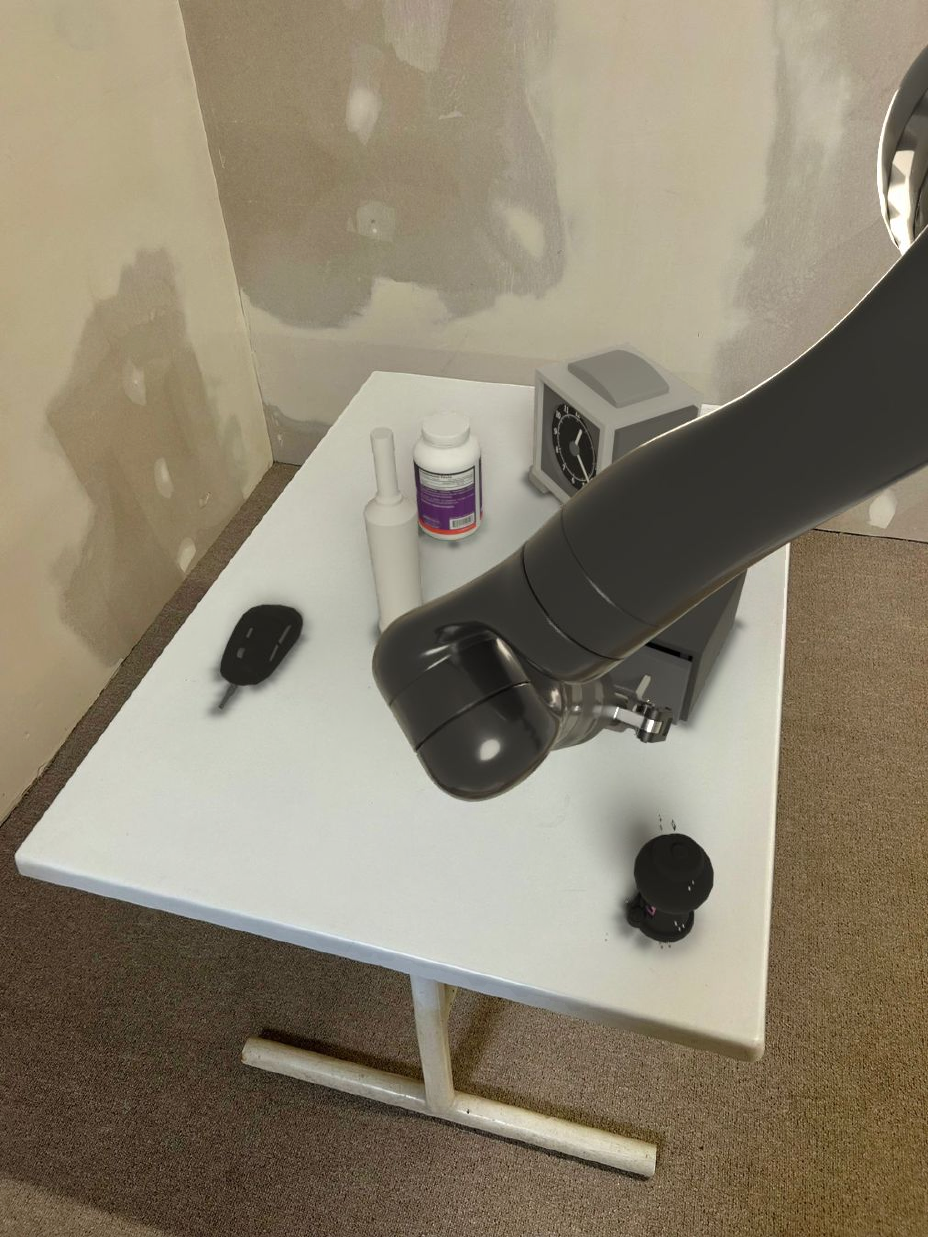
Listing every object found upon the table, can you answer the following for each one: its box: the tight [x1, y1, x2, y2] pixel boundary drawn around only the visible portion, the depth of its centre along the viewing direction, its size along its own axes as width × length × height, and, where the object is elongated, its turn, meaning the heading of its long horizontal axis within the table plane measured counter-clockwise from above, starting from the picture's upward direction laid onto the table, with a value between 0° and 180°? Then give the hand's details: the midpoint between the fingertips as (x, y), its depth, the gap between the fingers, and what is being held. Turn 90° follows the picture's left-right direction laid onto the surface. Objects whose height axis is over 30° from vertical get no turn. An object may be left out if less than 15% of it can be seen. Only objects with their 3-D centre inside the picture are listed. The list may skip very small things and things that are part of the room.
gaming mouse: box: [218, 603, 304, 709], centre depth 91 cm, size 6×15×4 cm, turn 161°
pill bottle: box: [412, 411, 484, 541], centre depth 103 cm, size 8×8×14 cm
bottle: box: [362, 426, 424, 635], centre depth 86 cm, size 5×5×25 cm
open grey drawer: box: [609, 642, 693, 726], centre depth 85 cm, size 19×11×8 cm, turn 151°
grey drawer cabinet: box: [649, 568, 749, 722], centre depth 88 cm, size 16×13×10 cm
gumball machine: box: [625, 813, 715, 949], centre depth 67 cm, size 7×6×10 cm
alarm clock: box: [528, 341, 705, 505], centre depth 105 cm, size 18×13×18 cm
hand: (599, 694), depth 75 cm, fingers open, 8 cm apart
